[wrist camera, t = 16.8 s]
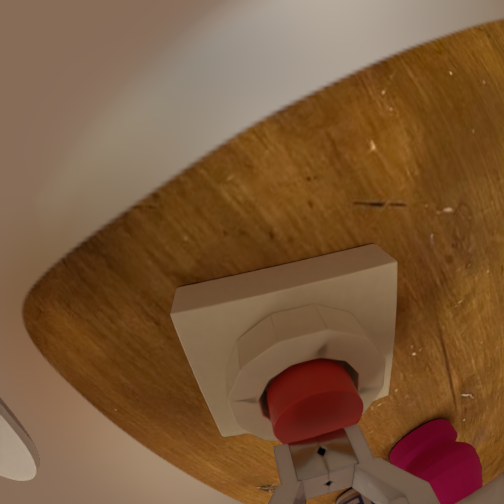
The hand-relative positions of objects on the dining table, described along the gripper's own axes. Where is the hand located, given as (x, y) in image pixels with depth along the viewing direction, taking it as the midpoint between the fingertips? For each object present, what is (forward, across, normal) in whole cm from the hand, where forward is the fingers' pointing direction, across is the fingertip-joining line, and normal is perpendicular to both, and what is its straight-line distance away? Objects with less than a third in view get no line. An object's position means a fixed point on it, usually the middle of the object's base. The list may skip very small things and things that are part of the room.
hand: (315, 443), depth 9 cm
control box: (+6, 0, 0) cm, 6 cm away
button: (+3, 0, 0) cm, 3 cm away
